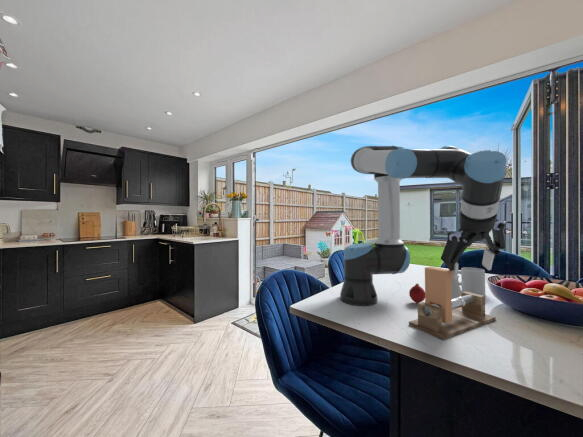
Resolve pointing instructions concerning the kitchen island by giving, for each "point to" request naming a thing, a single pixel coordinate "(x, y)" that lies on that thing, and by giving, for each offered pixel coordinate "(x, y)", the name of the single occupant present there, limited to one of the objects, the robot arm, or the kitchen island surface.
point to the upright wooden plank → (439, 290)
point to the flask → (456, 288)
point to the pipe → (455, 303)
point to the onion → (417, 293)
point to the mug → (472, 280)
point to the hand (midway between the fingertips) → (469, 271)
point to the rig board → (461, 318)
